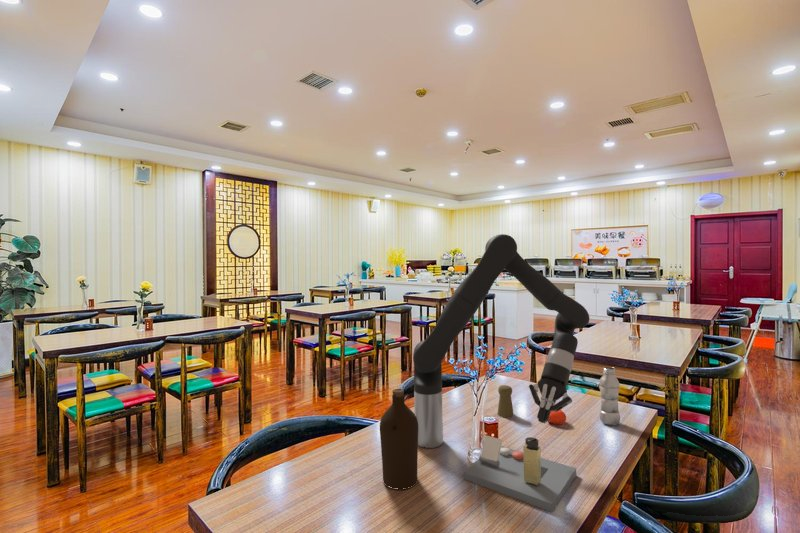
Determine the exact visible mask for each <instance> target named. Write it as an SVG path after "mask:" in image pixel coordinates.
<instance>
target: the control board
mask: <svg viewBox="0 0 800 533" xmlns="http://www.w3.org/2000/svg"><path fill="white" fill-rule="evenodd" d="M499 462H500V465H499V467H496V466H493V465H490V464H487V463H484V462H481V461H479V458H477V459H476V460H475V461H474V462H473V463H472V464H470V466H468V467H467V468H466V469H465V470H464V471H463V480H465V481H468V482H469V483H470V482H471V483H473V484H476V485H478V486H482V487H483V488H486V489H489V490H492V491H495V492H497V493H500V494H502V495H504V496H508V497H510V498H513V499H515V500H518V501H521V502H524V503H527V504H529V505H531V506H534V507H538V508H539V509H542V510H545V511H548V512H550V513H553V512H554V511H555V509H556V508H557V507H558V505H559V503H560V501H561V500H562V498H563V497H564V495H565V493H566V492H567V491H568V489H569V488H570V486H571V484H572V483H573V481H574V480H575V478H576V476H577V468H576V467H574V466H571V465H566V464H563V463H561V462H556V461H553V460H549V459H546V458H543V457H541V482H540V483H539V485H538V486H537V485H534V484H531V483H528V482H525V481H524V451H519V450H516V449H513V448H509V447H506V446H503V445H501V450H500V455H499Z"/></svg>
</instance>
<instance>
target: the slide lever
mask: <svg viewBox="0 0 800 533" xmlns="http://www.w3.org/2000/svg"><path fill="white" fill-rule="evenodd" d="M522 452H523V453H524V481H525V482H528V483H531V484H534V485H537V486H538V485H539V483H540V482H541V458H542V456H541V446H539V440H538V439H537V438H536V437H526V438H525V445H523V450H522Z"/></svg>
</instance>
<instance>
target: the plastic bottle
mask: <svg viewBox="0 0 800 533" xmlns="http://www.w3.org/2000/svg"><path fill="white" fill-rule="evenodd" d="M602 373H603V375H602V376H601V377H600V378H599V380H598V382H599V383H598V385H599V391H600V409H599V420H600V421H601V423H602V424H604V425H608V426H617V425H618V424H619V423H620V421H621V414H620V411H619V391H620V382H619V380H618V378H617V377H616V368H615V367H612V366H603V371H602Z"/></svg>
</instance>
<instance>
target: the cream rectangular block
mask: <svg viewBox="0 0 800 533" xmlns="http://www.w3.org/2000/svg"><path fill="white" fill-rule="evenodd" d="M502 442H503V440H502V439H500V438H497V437H493V436H490V435H487V434H485V435H484V440H483V445H482V450H481V454H480V455H479V457H478V459H479V461H481V462H484V463H487V464H490V465H493V466H496V467H499V465H500V462H499V455H500V450H501V446H502Z"/></svg>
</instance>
